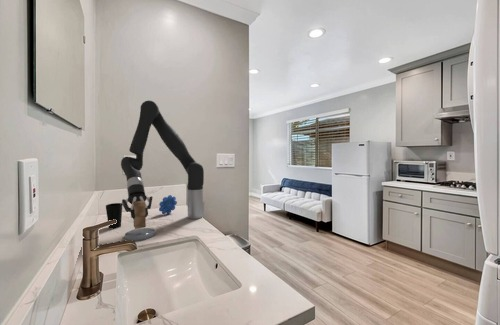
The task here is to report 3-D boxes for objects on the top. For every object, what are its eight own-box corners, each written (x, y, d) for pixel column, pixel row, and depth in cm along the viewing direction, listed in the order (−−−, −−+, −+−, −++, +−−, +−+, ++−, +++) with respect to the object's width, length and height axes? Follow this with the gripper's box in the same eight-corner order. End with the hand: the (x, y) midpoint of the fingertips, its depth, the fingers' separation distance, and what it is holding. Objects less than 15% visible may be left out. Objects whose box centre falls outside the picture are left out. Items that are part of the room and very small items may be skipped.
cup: (115, 230, 115) (114, 206, 114) (102, 229, 116) (101, 206, 116) (126, 225, 122) (125, 203, 122) (114, 224, 124) (113, 202, 123)
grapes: (174, 210, 151) (174, 193, 151) (178, 212, 146) (178, 194, 145) (156, 214, 144) (156, 195, 143) (160, 216, 138) (160, 197, 138)
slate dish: (151, 228, 116) (151, 226, 116) (157, 236, 106) (157, 233, 106) (123, 234, 109) (123, 231, 109) (126, 243, 98) (126, 240, 98)
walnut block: (143, 224, 110) (143, 200, 110) (145, 227, 107) (145, 202, 106) (133, 226, 108) (133, 201, 107) (135, 228, 104) (134, 203, 103)
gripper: (120, 184, 108) (123, 215, 99) (151, 182, 116) (157, 210, 107) (119, 193, 113) (122, 224, 103) (149, 191, 121) (155, 218, 112)
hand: (140, 217), depth 105 cm, fingers closed on walnut block, 4 cm apart
